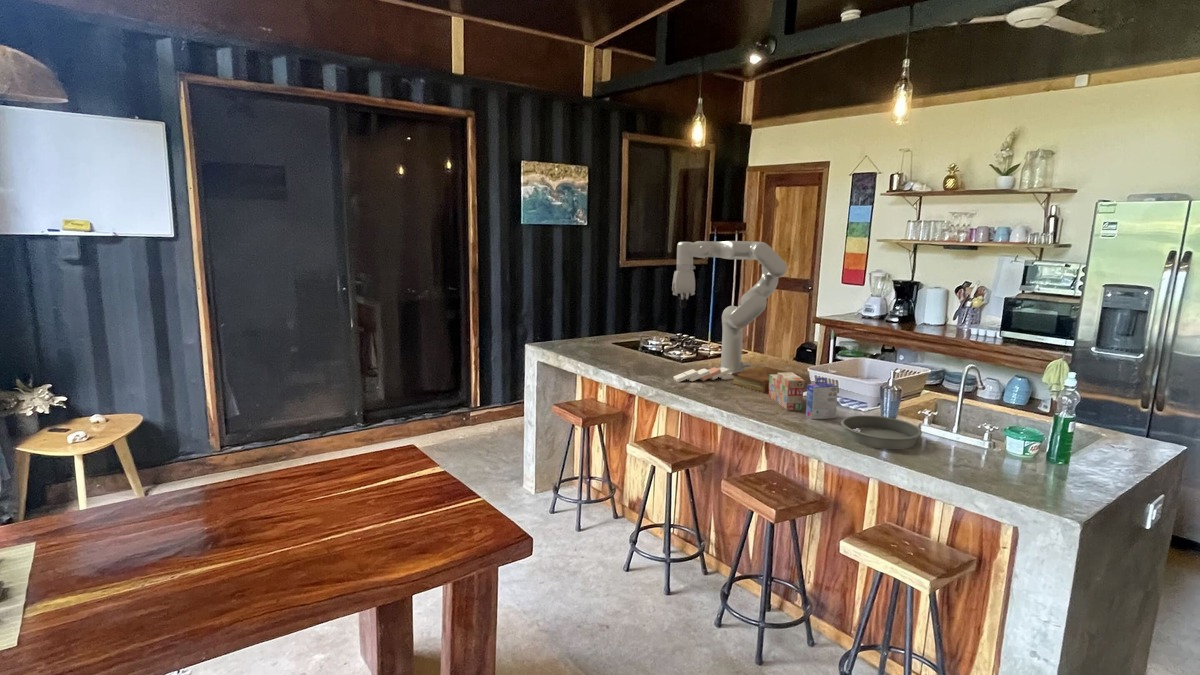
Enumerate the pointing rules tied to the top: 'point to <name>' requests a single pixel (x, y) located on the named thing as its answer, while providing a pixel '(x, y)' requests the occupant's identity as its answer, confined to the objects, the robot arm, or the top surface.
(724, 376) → the end domino
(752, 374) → the diary
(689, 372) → the head domino
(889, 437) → the cake pan
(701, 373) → the domino
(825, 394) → the ink cartridge box
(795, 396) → the stack of blocks
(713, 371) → the terracotta domino
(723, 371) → the domino
